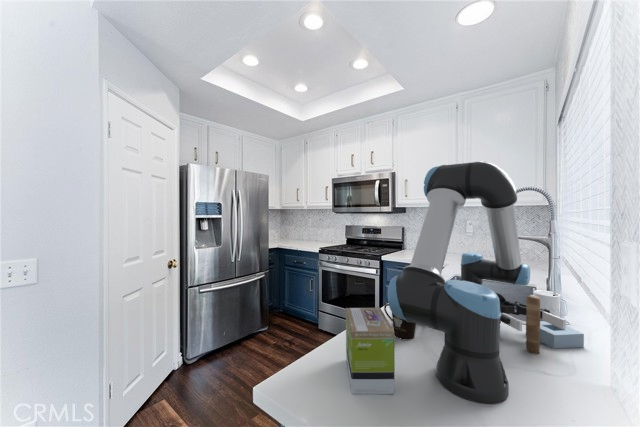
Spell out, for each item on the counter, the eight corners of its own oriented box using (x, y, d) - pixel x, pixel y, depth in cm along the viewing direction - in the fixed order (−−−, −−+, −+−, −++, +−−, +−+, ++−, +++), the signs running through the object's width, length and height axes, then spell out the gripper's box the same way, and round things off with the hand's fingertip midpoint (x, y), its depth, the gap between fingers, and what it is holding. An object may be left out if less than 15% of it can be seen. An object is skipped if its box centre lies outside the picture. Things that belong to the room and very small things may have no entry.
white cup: (565, 324, 101) (565, 296, 101) (541, 322, 102) (541, 295, 102) (552, 316, 109) (552, 290, 108) (529, 314, 110) (529, 289, 110)
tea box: (344, 359, 76) (345, 306, 76) (381, 359, 76) (381, 306, 76) (350, 395, 61) (351, 329, 61) (395, 396, 61) (396, 330, 61)
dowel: (532, 354, 79) (533, 299, 79) (523, 348, 82) (523, 295, 82) (542, 353, 79) (543, 298, 79) (533, 348, 83) (533, 295, 82)
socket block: (554, 348, 83) (554, 335, 83) (525, 333, 93) (526, 321, 93) (583, 346, 84) (583, 333, 84) (552, 332, 94) (552, 320, 94)
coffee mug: (423, 340, 88) (423, 308, 87) (399, 342, 86) (399, 311, 85) (403, 325, 99) (404, 297, 99) (381, 327, 97) (382, 299, 97)
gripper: (520, 310, 100) (581, 336, 79) (456, 312, 98) (502, 340, 76) (520, 289, 100) (582, 310, 79) (456, 291, 97) (502, 313, 76)
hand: (542, 325), depth 78 cm, fingers open, 13 cm apart
